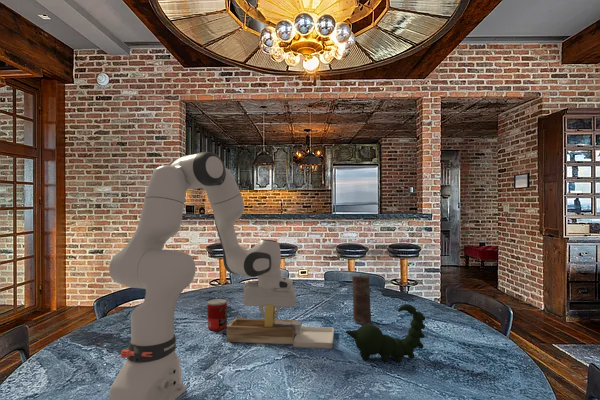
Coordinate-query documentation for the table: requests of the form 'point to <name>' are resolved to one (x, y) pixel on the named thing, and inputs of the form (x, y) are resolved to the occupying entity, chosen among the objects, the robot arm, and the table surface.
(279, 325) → the grey cubic block
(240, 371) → the table surface
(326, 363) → the table surface
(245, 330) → the open wooden box
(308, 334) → the tray
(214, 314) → the canned food
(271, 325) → the block
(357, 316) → the brown tall block
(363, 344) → the toy figurine
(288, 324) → the grey piece
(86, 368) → the table surface
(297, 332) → the grey and brown cube
